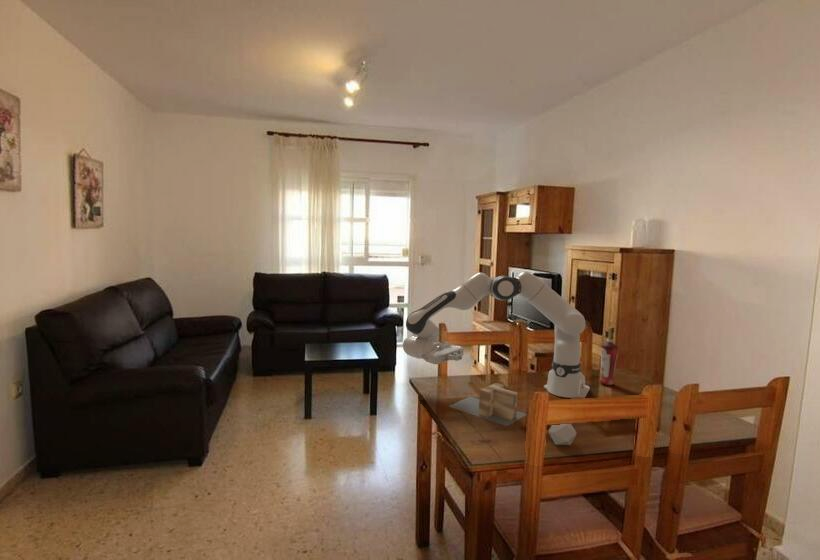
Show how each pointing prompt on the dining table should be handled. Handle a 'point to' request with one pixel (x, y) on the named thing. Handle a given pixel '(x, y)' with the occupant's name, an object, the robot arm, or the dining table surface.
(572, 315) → the robot arm
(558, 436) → the die
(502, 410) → the t block
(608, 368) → the liquor
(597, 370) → the dining table surface
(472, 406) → the t mat
